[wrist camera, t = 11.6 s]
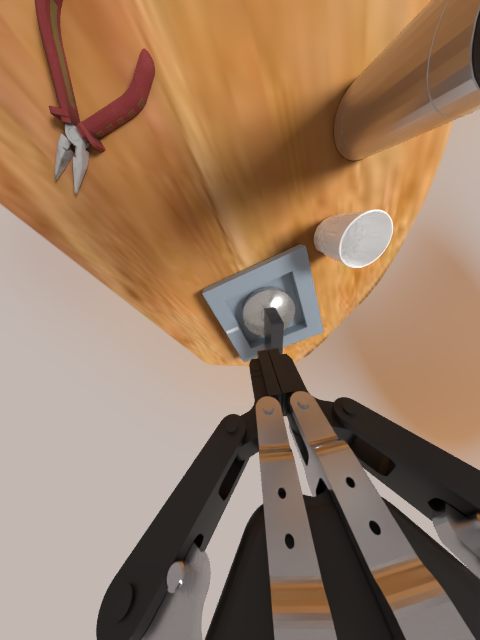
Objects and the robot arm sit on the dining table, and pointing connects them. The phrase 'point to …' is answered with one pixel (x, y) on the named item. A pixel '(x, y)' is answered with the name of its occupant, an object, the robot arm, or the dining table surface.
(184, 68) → the dining table surface
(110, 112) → the pliers
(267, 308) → the dial
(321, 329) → the housing
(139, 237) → the dining table surface
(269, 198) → the dining table surface
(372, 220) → the white cup
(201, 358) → the dining table surface
